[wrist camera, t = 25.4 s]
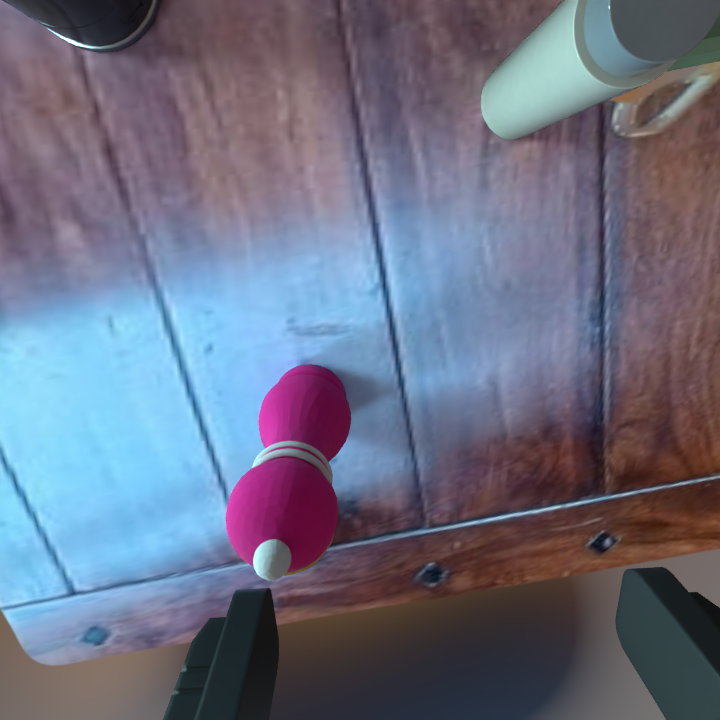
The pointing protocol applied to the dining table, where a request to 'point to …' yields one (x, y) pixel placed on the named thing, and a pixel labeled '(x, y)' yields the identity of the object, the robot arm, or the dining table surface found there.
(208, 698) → the robot arm
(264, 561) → the pepper mill
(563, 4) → the cylinder
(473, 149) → the dining table surface
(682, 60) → the green square tray
